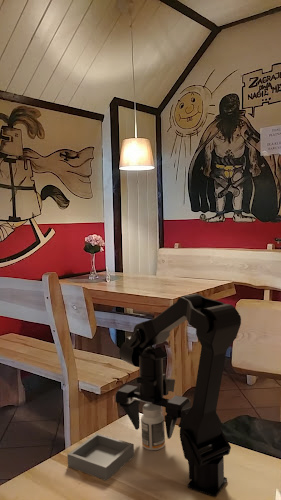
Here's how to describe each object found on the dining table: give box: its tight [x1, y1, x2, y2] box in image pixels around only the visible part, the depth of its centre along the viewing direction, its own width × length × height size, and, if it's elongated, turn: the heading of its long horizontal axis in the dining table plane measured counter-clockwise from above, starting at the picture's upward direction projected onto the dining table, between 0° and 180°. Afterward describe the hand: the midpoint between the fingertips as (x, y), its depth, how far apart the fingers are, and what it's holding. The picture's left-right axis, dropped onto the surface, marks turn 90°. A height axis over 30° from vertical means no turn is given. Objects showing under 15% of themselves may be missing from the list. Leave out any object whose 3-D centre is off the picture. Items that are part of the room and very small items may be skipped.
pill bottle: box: [140, 403, 166, 451], centre depth 111 cm, size 6×6×10 cm
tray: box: [67, 432, 135, 482], centre depth 105 cm, size 11×11×3 cm
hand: (153, 433), depth 111 cm, fingers open, 9 cm apart
